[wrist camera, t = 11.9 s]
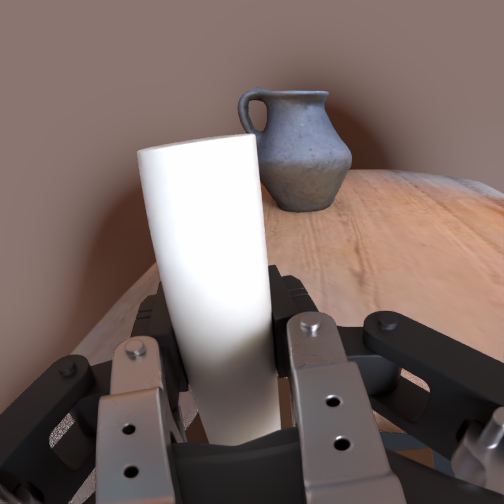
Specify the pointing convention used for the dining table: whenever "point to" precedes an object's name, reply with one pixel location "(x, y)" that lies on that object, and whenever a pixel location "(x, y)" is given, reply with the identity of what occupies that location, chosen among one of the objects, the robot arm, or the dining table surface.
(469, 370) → the robot arm
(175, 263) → the tall white pillar
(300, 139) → the pitcher
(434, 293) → the dining table surface
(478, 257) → the dining table surface
